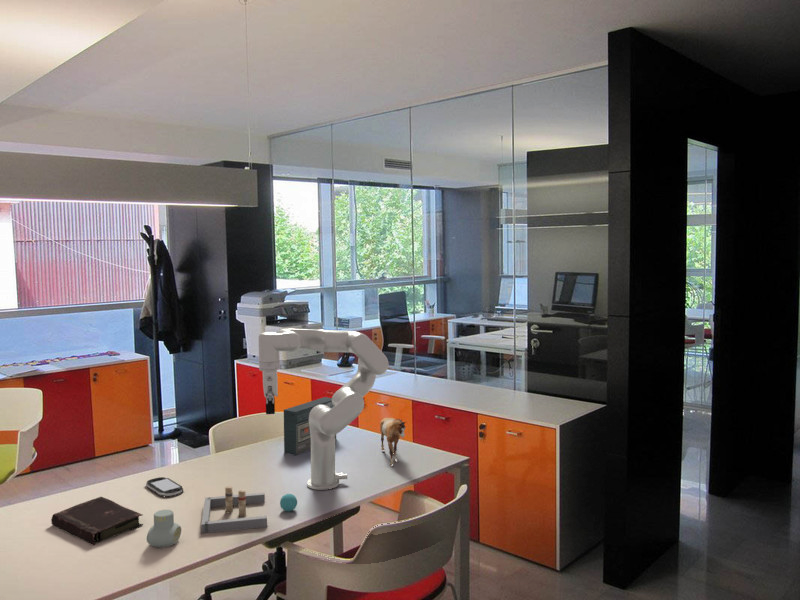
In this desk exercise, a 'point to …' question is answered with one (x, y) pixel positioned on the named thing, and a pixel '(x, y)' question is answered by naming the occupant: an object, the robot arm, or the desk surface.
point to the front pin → (242, 502)
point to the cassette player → (300, 426)
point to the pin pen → (232, 523)
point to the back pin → (229, 499)
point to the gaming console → (164, 486)
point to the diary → (96, 520)
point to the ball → (288, 502)
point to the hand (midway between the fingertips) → (270, 410)
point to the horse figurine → (392, 433)
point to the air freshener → (164, 530)
